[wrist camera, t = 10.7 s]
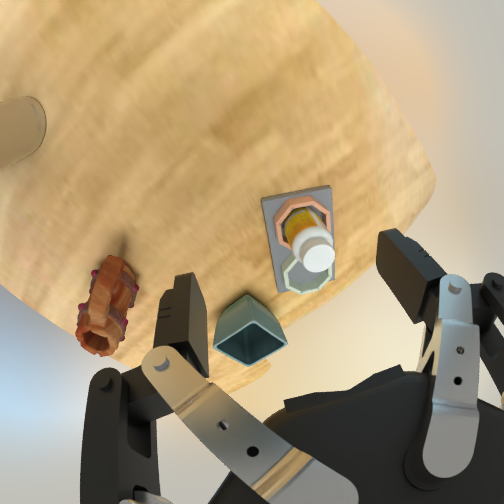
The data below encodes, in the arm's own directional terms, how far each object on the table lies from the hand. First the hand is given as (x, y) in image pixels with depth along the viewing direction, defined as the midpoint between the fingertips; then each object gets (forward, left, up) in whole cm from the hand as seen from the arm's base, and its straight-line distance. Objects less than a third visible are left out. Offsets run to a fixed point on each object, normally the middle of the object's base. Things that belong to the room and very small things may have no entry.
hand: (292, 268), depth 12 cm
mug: (-23, -15, -28) cm, 39 cm away
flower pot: (-5, -29, -28) cm, 40 cm away
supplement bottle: (+6, -13, -27) cm, 30 cm away
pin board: (+6, -18, -28) cm, 33 cm away
